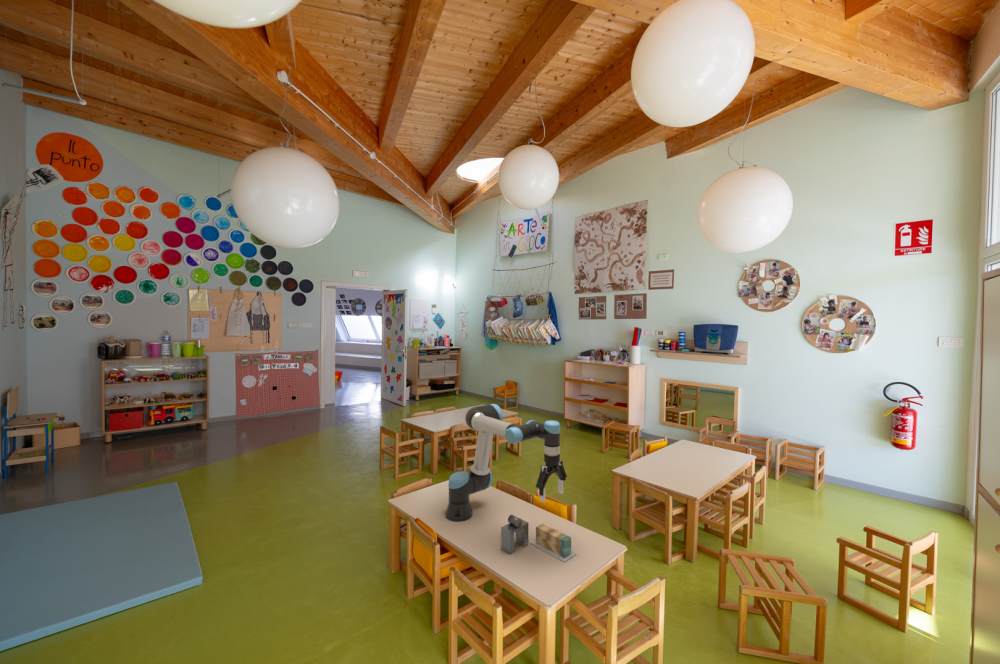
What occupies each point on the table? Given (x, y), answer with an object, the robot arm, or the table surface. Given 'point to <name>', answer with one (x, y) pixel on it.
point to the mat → (553, 552)
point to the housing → (508, 534)
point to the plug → (553, 540)
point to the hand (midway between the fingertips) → (551, 497)
